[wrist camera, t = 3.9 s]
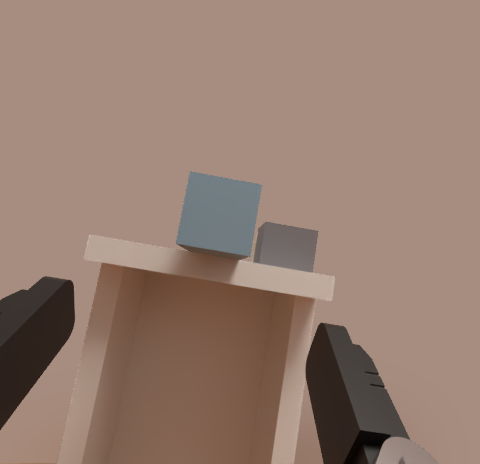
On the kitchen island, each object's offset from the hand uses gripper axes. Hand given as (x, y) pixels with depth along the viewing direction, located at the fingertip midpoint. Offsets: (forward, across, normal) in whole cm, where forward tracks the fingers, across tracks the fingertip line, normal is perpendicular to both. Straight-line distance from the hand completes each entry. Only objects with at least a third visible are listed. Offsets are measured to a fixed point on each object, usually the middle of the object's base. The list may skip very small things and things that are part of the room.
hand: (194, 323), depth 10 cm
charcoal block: (+19, -6, +8) cm, 21 cm away
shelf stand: (+5, 0, +37) cm, 37 cm away
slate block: (+16, 0, +6) cm, 17 cm away
